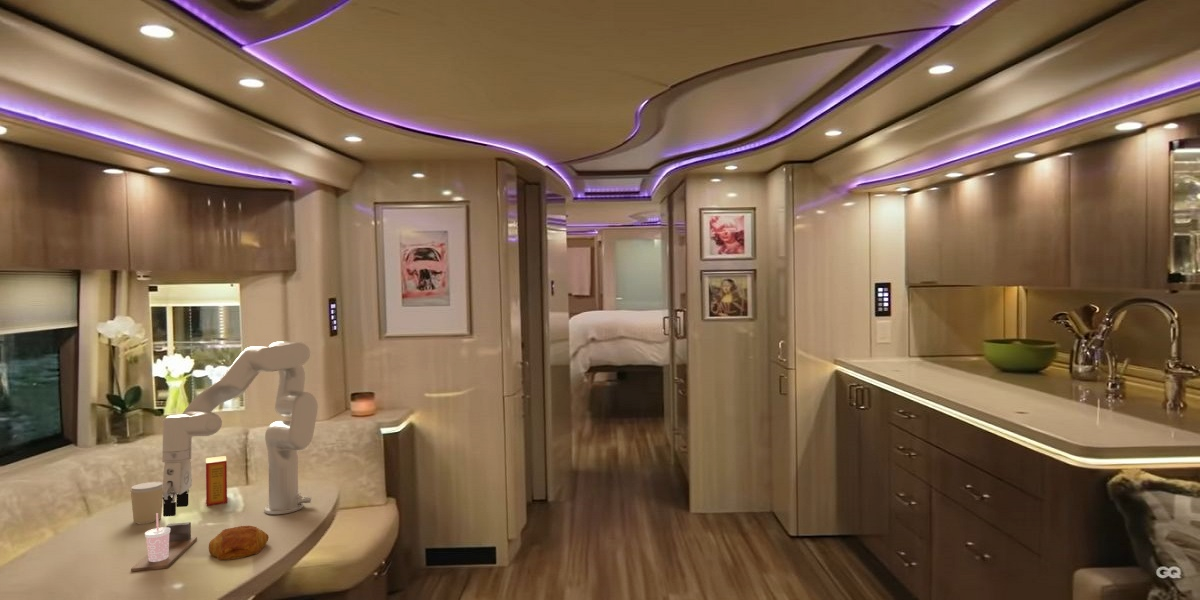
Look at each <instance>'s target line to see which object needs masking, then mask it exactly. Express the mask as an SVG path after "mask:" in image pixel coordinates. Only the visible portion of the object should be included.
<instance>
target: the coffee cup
mask: <svg viewBox="0 0 1200 600" xmlns="http://www.w3.org/2000/svg"><path fill="white" fill-rule="evenodd" d="M162 492H163V481H148V482H142V483H138V484H135V485H133V486H131V488H130V495H131V497H130V498H131V507H132V509H131V510H132V518H133V523H134V524H135V523H137V524H136V525H144V524H143V523H146V524H151V523H153V522H154V521H155V522H156V514H157V513H158V521H160V520H161V519H162V515H163V494H162ZM159 519H160V520H159ZM150 522H151V523H150ZM155 522H154V523H155Z"/></svg>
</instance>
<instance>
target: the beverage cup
mask: <svg viewBox="0 0 1200 600" xmlns="http://www.w3.org/2000/svg"><path fill="white" fill-rule="evenodd" d="M155 522H156V523H155V524H156V528H152V529H149V530H146V531H145V532H144V537H145V541H146V547H147V554H148V559H149V561H150V562H157V561H162V560H165V559H167V558H168V557H169V533H170V530H171V528H169V527H166V526H161V527H160V525H159V520H158V513H157V514H156V521H155Z"/></svg>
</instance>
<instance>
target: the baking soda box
mask: <svg viewBox="0 0 1200 600" xmlns="http://www.w3.org/2000/svg"><path fill="white" fill-rule="evenodd" d="M227 463H228V462H227V456H226V455H221V456H212V457H210V456H209V457H205V490H206V491H205V496H206V500H205V501H206V504H205V505H206V507H209V506H216V505H223V504H227V503H228V485H227V484H228V472H227V470H228V468H227V467H228V466H227Z"/></svg>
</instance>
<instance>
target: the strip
mask: <svg viewBox="0 0 1200 600" xmlns="http://www.w3.org/2000/svg"><path fill="white" fill-rule="evenodd" d="M191 525H192V522H191V521H188V522H178V523H177V522H176V523H175V522H174V523H168V524H166V526H165V527H169V528H171V530H170V533H169V557H168V558H167V559H165V560H162V561H157V562H150V561H149V559H148V553H147V554H146V555H145V556H144V557H143V558H142V559H140V560H138V562H137V563H136V564H134V566H132V567H131V568H130V572H132V573H133V572H141V571H150V570H153V571H154V570H160V569H161V570H162V569H168V568H169V567H170V566H171V565H173V564H174V562H175V561H176V560H177V559H179V558H180V557H181V556H182V555H183V554H184V553H185V552H186V551H187V550H188V549H189V548H190V547H191V546H192V545H193V544H194V543H195V542H196V541H197V540H198V537H197V536H192V526H191ZM194 541H195V542H194Z"/></svg>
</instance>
